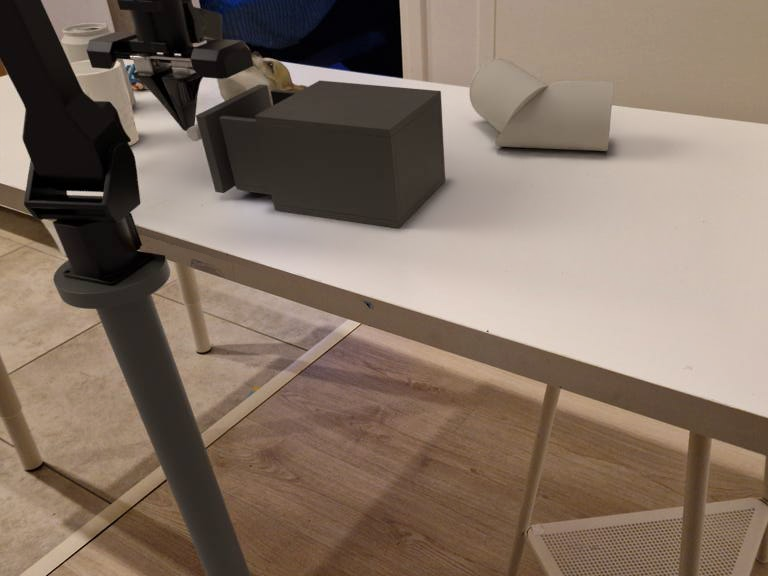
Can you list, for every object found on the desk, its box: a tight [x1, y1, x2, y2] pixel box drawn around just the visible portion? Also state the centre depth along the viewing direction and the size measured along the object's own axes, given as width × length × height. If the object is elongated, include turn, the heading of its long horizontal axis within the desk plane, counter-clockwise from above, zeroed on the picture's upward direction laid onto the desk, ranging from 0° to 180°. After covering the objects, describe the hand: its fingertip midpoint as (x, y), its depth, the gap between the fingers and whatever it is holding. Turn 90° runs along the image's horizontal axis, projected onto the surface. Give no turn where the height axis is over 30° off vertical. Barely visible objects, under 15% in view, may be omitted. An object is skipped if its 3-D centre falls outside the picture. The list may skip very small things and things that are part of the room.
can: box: [60, 22, 137, 107], centre depth 108 cm, size 8×8×12 cm
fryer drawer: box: [186, 84, 297, 196], centre depth 84 cm, size 19×12×9 cm, turn 71°
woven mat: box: [125, 63, 149, 91], centre depth 123 cm, size 10×11×2 cm
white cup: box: [70, 60, 140, 147], centre depth 97 cm, size 8×8×10 cm
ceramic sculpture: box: [216, 50, 308, 107], centre depth 108 cm, size 11×9×15 cm
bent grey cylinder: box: [469, 58, 615, 152], centre depth 96 cm, size 18×11×20 cm
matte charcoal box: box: [255, 80, 446, 229], centre depth 81 cm, size 16×14×11 cm
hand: (189, 130), depth 87 cm, fingers closed
